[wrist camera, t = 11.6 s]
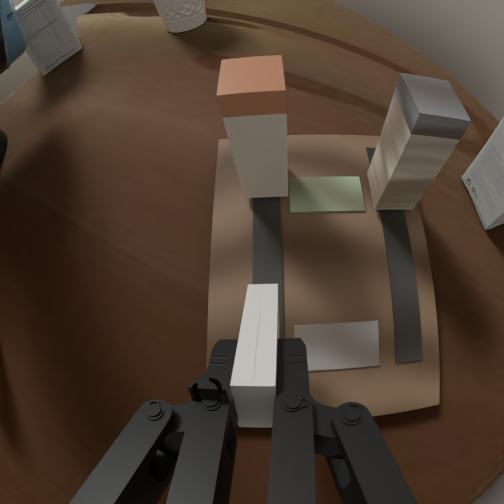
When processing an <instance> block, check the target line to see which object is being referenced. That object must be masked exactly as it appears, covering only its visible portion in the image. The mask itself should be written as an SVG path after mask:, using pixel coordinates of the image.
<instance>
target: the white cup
mask: <svg viewBox="0 0 504 504" xmlns="http://www.w3.org/2000/svg"><path fill="white" fill-rule="evenodd" d="M153 2H154V4H155V6H156V8H157V10H158V13H159V15H160V17H161V18H162V20H163V22H164V25H165V27H166V30H167V31H169V32H171V33H179V32H184V31H189V30H191V29H194V28H197V27H199V26H200V25H202V24H203V23H205V21H206V20H207V15H206V11H205V1H204V0H153Z"/></svg>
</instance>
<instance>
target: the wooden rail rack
mask: <svg viewBox="0 0 504 504" xmlns="http://www.w3.org/2000/svg"><path fill="white" fill-rule="evenodd" d="M470 122H471V120H470V118H469V116H468V115H467V113H466V111H465V109H464V107H463V105H462V104H461V102H460V100H459V98H458V96H457V95H456V93H455V91H454V90H453V88H452V86H451V85H450V83H449V81H445V80H440V79H435V78H430V77H424V76H418V75H412V74H405V73H400V74H399V78H398V81H397V85H396V88H395V91H394V95H393V98H392V101H391V105H390V108H389V111H388V114H387V117H386V120H385V123H384V126H383V129H382V132H381V135H380V136H364V135H287V152H288V196H285V197H260V198H244V195H243V191H242V188H241V184H240V180H239V176H238V173H237V169H236V165H235V162H234V158H233V154H232V150H231V147H230V143H229V139H221V140H219V144H218V156H217V168H216V180H215V193H214V207H213V222H212V238H211V256H210V276H209V299H208V329H207V367H208V365H209V359H210V357H211V352H212V348H213V346H214V345H215V344H216V343H217V342H218V340H219V339H238V338H239V332H240V327H241V321H242V315H243V310H244V304H245V298H246V293H247V287H248V284H278V301H279V338H301V339H302V341H303V342H304V343H305V345H306V350H307V364H308V375H309V390H310V394H311V396H312V397H313V398H314V399H315V400H316V401H317V402H319V403H320V404H323V405H326V406H331V407H336V408H337V407H338V406H339V405H341V404H343V403H346V402H356V403H360V404H362V405H364V406H366V408H367V409H368V410H369V411H370V413H371V415H372V416H379V415H386V414H393V413H399V412H404V411H410V410H415V409H420V408H425V407H429V406H434V405H438V404H439V390H440V367H439V339H438V324H437V313H436V303H435V294H434V286H433V278H432V272H431V265H430V259H429V253H428V247H427V242H426V237H425V232H424V227H423V222H422V218H421V214H420V209H419V205H418V202H419V200H420V199H421V197H422V196H423V195H424V193H425V192H426V190H427V189H428V187H429V186H430V185H431V183H432V182H433V180H434V179H435V177H436V176H437V174H438V173H439V171H440V170H441V168H442V167H443V165H444V164H445V162H446V161H447V159H448V158H449V156H450V155H451V153H452V152H453V150H454V148H455V147H456V145H457V144H458V142H459V140H460V139H461V137H462V135H463V134H464V132H465V131H466V129H467V127H468V126H469V124H470Z"/></svg>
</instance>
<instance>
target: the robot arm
mask: <svg viewBox="0 0 504 504" xmlns="http://www.w3.org/2000/svg"><path fill="white" fill-rule="evenodd" d="M26 47H27V38H26V35H25V32H24V29H23V27H22V24H21V22H20V19H19V17H18V14H17V12H16V10H15V7H14V5H13V3H12V0H0V74H1V73H3V72H4V71H5V70H6V69H8V68H9V67H10V65H11V64H12V63H13V62H14V61H15V60H16V59H17V58H18V57H19V56H21V55H22V54H23V53H24V51H25V50H26ZM6 142H7V137H6V134H5V133H4V132H3V131H2V130H1V129H0V160H1V158H2V156H3V153H4V150H5V147H6ZM188 389H189V392H190V395H191V397H192V401H190V402H187V403H184V404H178V405H172V406H170V405H169V404H168V403H167V402H165V401H164V400H160V399H153V400H149V401H147V402H145V403H143V404H142V405H141V406H140V407H139V409H138V410H137V411H136V413H135V414H134V416H133V417H132V418H131V420H130V421H129V422H128V424H127V425H126V426H125V428H124V429H123V431H122V432H121V433H120V435H119V436H118V437H117V439H116V440H115V441H114V443H113V444H112V446H111V447H110V448H109V450H108V451H107V452H106V454H105V455H104V456H103V458H102V459H101V461H100V462H99V463H98V465H97V466H96V467H95V469H94V470H93V471H92V473H91V474H90V476H89V477H88V478H87V480H86V481H85V482H84V484H83V485H82V486H81V488H80V489H79V491H78V492H77V493H76V495H75V496H74V497H73V499H72V500H71V501H70V503H69V504H157V503H158V501H159V499H160V498H161V496H162V494H163V493H164V491H165V489H166V487H167V486H168V484H169V482H170V481H171V479H172V482H171V486H170V490H169V494H168V498H167V502H166V504H229V497H230V490H231V483H232V476H233V468H234V461H235V454H236V446H237V432H236V429H237V422H238V426H239V427H259V428H272V442H271V459H270V474H269V489H268V503H267V504H316V485H315V454H320V455H324V456H325V457H326V459H327V462H328V465H329V468H330V470H331V473H332V476H333V478H334V481H335V484H336V486H337V489H338V492H339V494H340V497H341V500H342V502H343V504H417V503H416V501H415V499H414V497H413V495H412V493H411V491H410V489H409V487H408V485H407V483H406V481H405V479H404V477H403V475H402V473H401V471H400V469H399V467H398V465H397V463H396V461H395V459H394V457H393V455H392V453H391V451H390V449H389V447H388V445H387V444H386V442H385V440H384V438H383V436H382V434H381V432H380V430H379V428H378V426H377V425H376V423H375V421H374V419H373V417H372V415H371V413H370V411H369V410H368V409H367V408H366V406H364V405H362V404H360V403H356V402H346V403H343V404H341V405H339V406H338V407H337V408H336V407H331V406H326V405H323V404H320V403H319V402H317V401H316V400H315V399H314V398H313V397H312V396H311V394H310V390H309V375H308V364H307V350H306V345H305V343H304V342H303V341H302V339H301V338H279V301H278V284H248V287H247V293H246V298H245V304H244V310H243V315H242V321H241V327H240V332H239V338H238V339H219V340H218V342H217V343H216V344H215V345H214V346H213V348H212V352H211V357H210V359H209V365H208V367H207V371H206V374H205V375H203V376H200V377H198V378H196V379H194V380H193V381H192V382H191V383H190V385H189V387H188ZM314 453H315V454H314ZM172 477H173V478H172Z"/></svg>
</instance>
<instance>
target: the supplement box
mask: <svg viewBox="0 0 504 504" xmlns="http://www.w3.org/2000/svg"><path fill="white" fill-rule="evenodd" d="M15 10H16V12H17V14H18V17H19V19H20V22H21V24H22V27H23V29H24V32H25V35H26V38H27V47H26V50H25V51H26V52H27V54H28V55H29V56H30V58H31V59H32V61H33V62H34V63H35V65H36V66H37V68H38V69H39V70H40V72H41V73H42V75H43V76H45V75H46V74H47V73H49V72H50V71H51V70H53V69H54V68H55V67H57V66H58V65H59V64H61V63H62V62H63V61H65V60H66V59H68V58H69V57H71V56H72V55H73V54H75V53H76V52H78V51H79V50H81V49H82V46H81V43H80V40H79V38H78V36H77V34H76V33H75V31H74V29H73V27H72V26H71V24H70V22H69V20H68V19H67V17H66V15H65V14H64V12H63V10H62V8H61V7H60V5H59V3H58V2H57V0H24V1H23V2H22V3H21V4H19V5H18V6H17V7H15Z"/></svg>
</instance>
